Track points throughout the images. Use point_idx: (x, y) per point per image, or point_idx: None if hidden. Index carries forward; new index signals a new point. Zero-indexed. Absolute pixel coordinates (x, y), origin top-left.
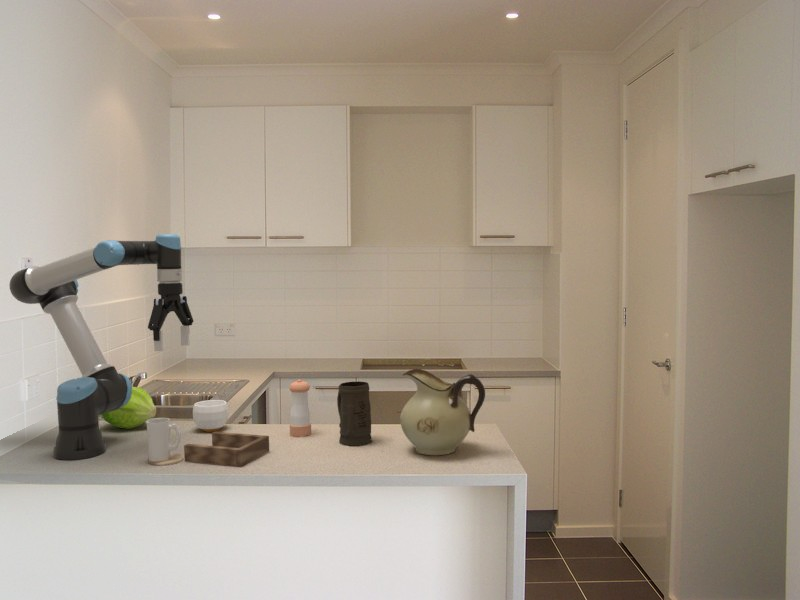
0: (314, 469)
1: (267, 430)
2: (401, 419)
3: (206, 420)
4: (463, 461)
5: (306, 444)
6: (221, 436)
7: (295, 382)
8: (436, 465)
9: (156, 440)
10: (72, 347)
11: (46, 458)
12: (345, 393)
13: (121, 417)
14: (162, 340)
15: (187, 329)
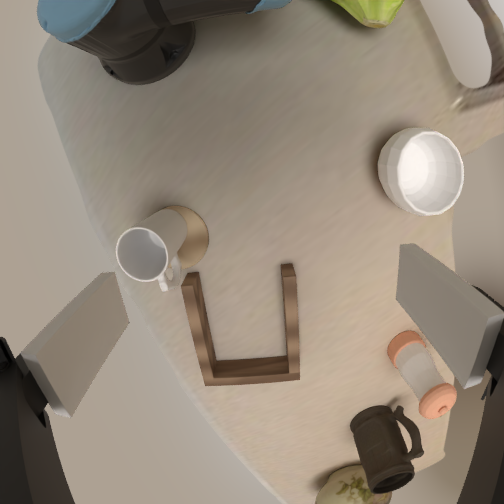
0: (242, 434)
1: None
2: (337, 494)
3: (382, 184)
4: (317, 492)
5: (348, 383)
6: (284, 297)
7: (439, 406)
8: (299, 487)
9: (137, 253)
10: None
11: None
12: (369, 478)
13: None
14: (98, 363)
15: (450, 367)
